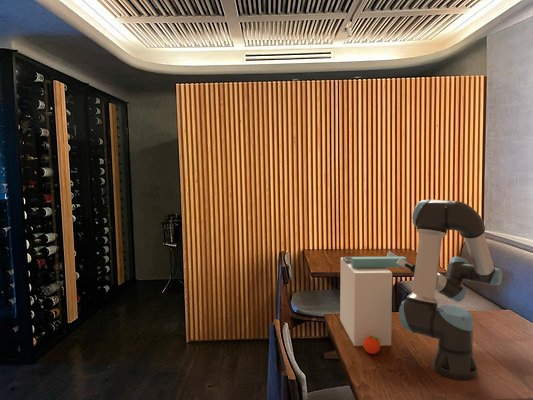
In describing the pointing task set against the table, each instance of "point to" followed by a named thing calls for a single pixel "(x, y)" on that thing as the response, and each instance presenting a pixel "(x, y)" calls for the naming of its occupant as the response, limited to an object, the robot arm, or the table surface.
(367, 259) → the teal block
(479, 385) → the table surface
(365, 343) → the tomato
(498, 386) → the table surface
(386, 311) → the tall cream box
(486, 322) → the table surface
